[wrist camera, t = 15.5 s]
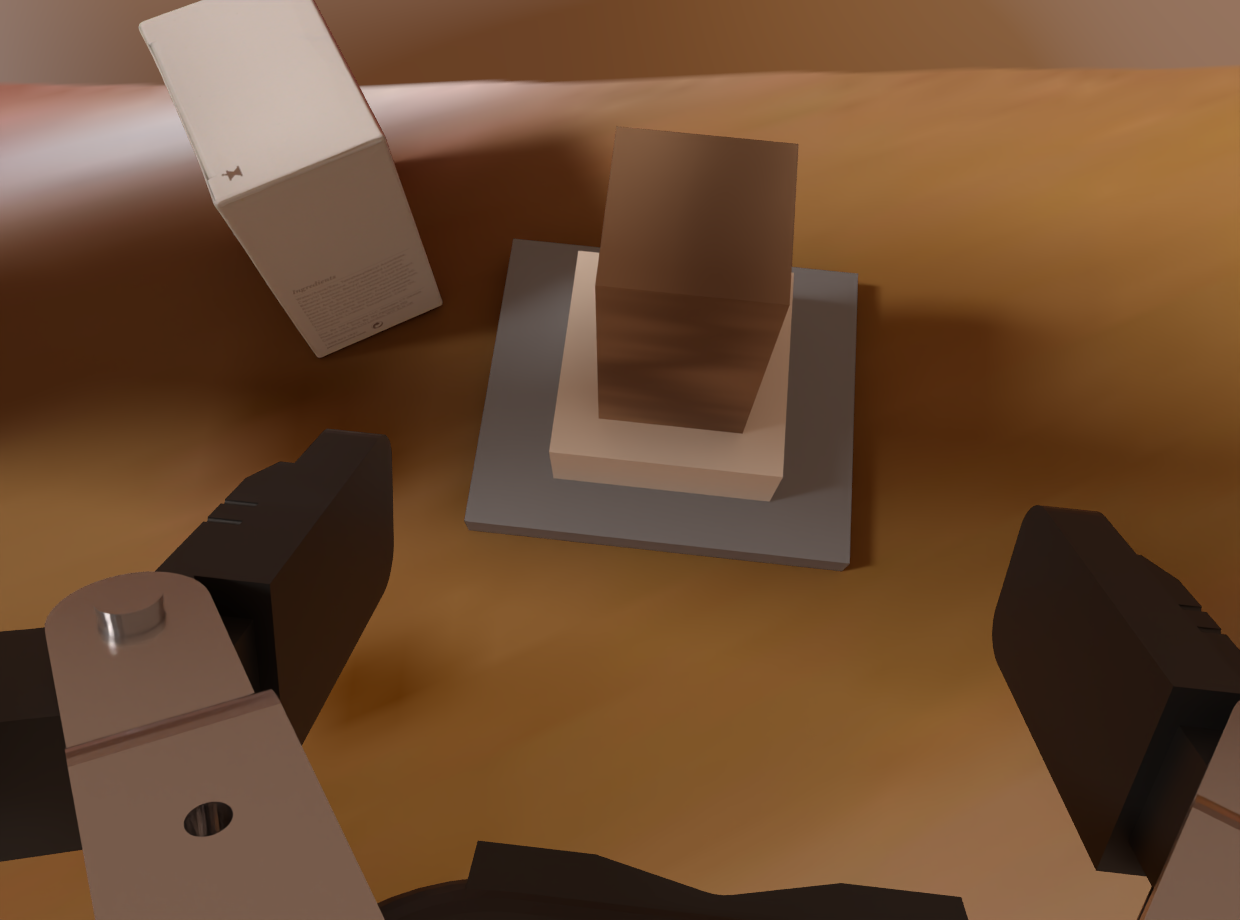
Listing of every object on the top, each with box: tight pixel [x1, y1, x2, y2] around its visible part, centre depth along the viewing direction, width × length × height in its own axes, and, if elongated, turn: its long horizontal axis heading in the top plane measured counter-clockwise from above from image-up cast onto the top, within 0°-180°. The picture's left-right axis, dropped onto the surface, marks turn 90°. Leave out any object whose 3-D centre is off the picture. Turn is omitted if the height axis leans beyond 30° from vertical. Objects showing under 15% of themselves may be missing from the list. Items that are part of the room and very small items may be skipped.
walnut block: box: [595, 126, 798, 434], centre depth 29 cm, size 5×5×9 cm
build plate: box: [464, 239, 858, 571], centre depth 35 cm, size 14×12×4 cm
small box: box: [139, 0, 443, 358], centre depth 34 cm, size 8×6×10 cm
